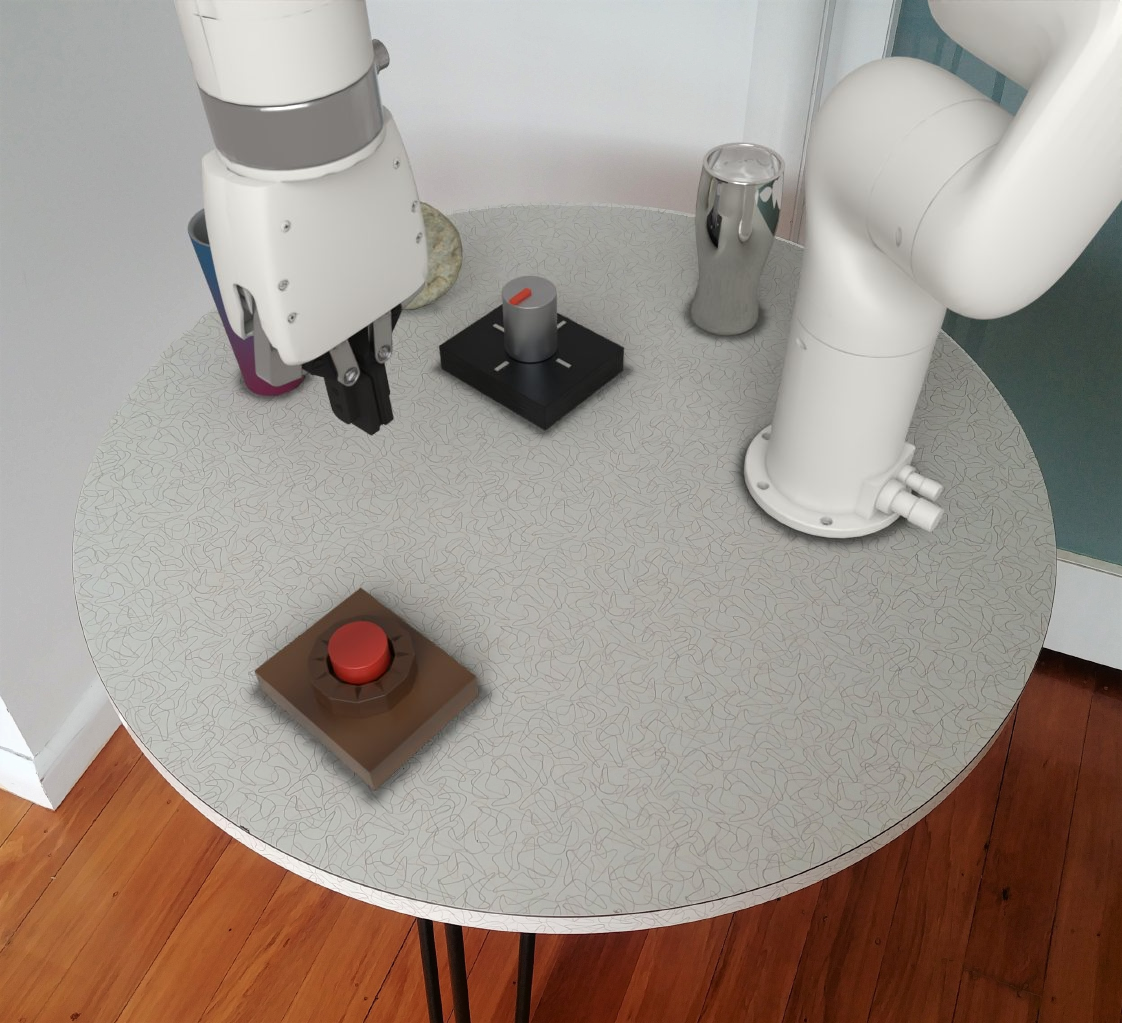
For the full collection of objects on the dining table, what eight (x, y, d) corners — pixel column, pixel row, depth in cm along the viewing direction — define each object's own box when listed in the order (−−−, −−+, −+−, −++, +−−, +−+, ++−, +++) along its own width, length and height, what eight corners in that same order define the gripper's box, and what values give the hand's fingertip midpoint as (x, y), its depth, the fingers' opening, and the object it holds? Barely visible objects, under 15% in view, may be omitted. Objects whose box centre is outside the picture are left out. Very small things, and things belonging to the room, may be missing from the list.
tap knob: (528, 323, 91) (525, 266, 87) (568, 343, 89) (567, 285, 85) (494, 348, 89) (490, 291, 84) (534, 369, 87) (532, 311, 83)
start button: (402, 658, 66) (399, 641, 65) (359, 695, 64) (354, 678, 63) (364, 627, 68) (360, 611, 66) (320, 663, 66) (315, 646, 65)
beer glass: (725, 349, 92) (746, 194, 81) (669, 313, 96) (682, 160, 85) (779, 317, 95) (806, 164, 84) (722, 283, 99) (741, 132, 88)
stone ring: (355, 317, 96) (337, 219, 89) (356, 294, 98) (339, 197, 91) (467, 309, 97) (458, 212, 89) (466, 286, 99) (457, 190, 92)
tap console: (623, 370, 91) (624, 346, 89) (545, 431, 86) (544, 406, 84) (520, 315, 96) (519, 290, 94) (441, 368, 91) (438, 344, 89)
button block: (479, 695, 68) (475, 659, 66) (374, 791, 64) (365, 757, 61) (365, 606, 73) (356, 569, 71) (261, 689, 69) (247, 654, 66)
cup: (276, 413, 87) (234, 257, 76) (217, 384, 90) (167, 230, 79) (331, 368, 91) (298, 214, 80) (273, 342, 94) (233, 189, 83)
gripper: (362, 26, 52) (412, 327, 65) (98, 151, 44) (217, 462, 58) (474, 68, 48) (502, 376, 62) (209, 210, 41) (307, 526, 54)
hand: (364, 417), depth 60 cm, fingers closed
